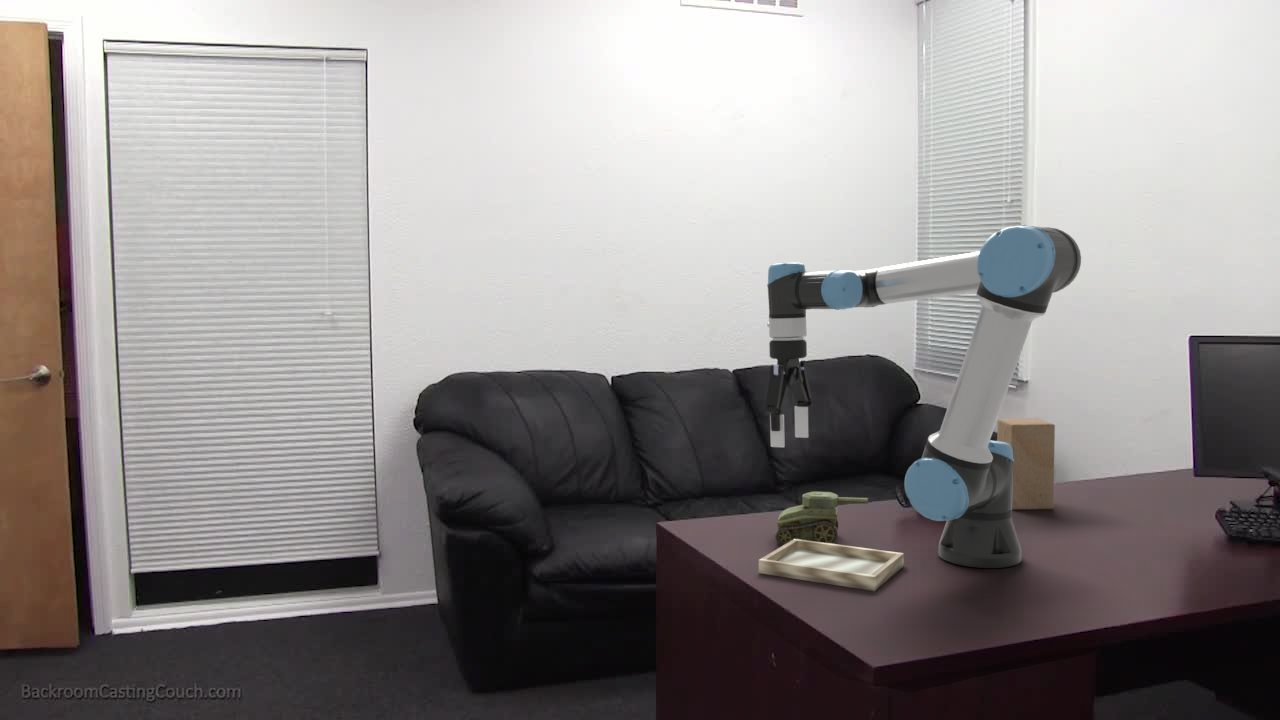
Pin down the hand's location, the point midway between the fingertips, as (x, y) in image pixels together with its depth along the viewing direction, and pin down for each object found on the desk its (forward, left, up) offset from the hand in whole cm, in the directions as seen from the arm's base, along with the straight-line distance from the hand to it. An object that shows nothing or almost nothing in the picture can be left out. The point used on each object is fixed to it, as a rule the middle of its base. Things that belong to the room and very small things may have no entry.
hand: (790, 442), depth 203 cm
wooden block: (-36, -56, -21) cm, 70 cm away
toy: (-6, -4, -21) cm, 22 cm away
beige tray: (-15, +15, -21) cm, 29 cm away
